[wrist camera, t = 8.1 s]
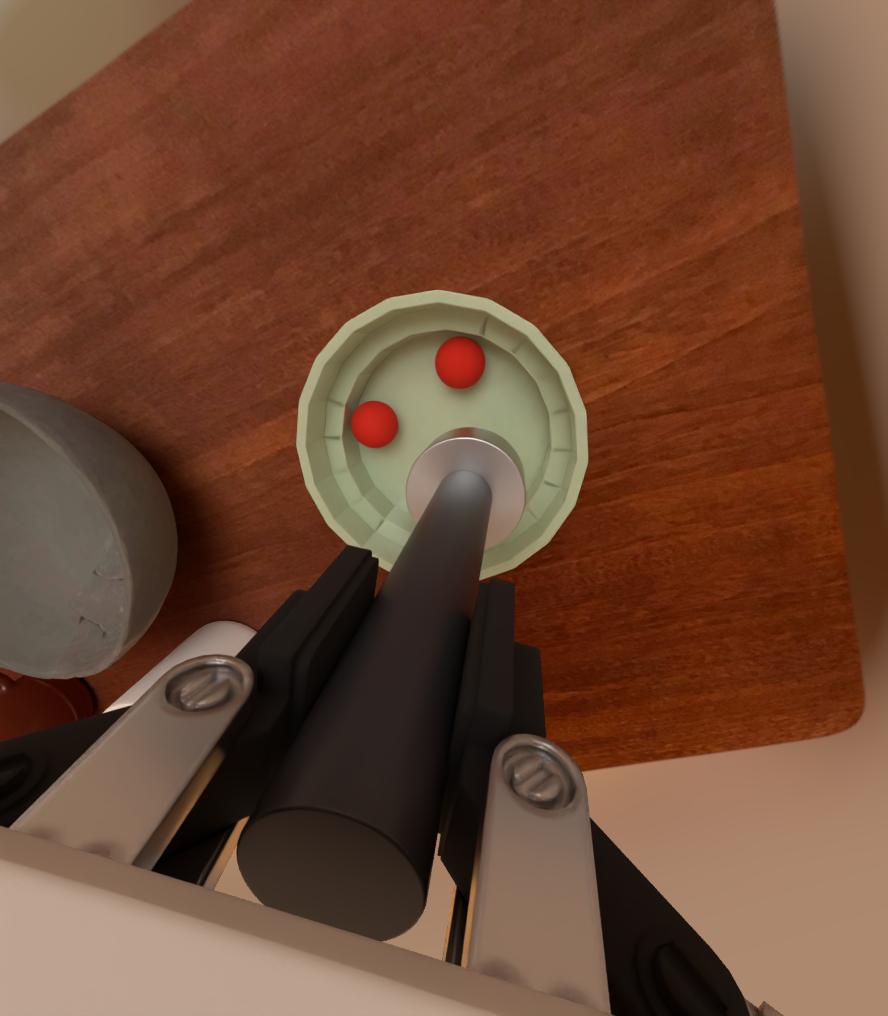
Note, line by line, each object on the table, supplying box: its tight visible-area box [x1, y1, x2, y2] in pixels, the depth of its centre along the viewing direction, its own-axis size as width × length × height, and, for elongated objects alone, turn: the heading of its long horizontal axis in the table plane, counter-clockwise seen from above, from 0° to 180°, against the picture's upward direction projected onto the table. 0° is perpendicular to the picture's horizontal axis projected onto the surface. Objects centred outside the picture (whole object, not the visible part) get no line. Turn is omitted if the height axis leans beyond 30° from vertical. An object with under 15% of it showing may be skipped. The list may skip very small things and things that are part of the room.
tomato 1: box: [351, 401, 398, 448], centre depth 29 cm, size 3×3×3 cm
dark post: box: [237, 427, 526, 942], centre depth 14 cm, size 5×5×18 cm
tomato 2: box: [435, 336, 485, 389], centre depth 27 cm, size 3×3×3 cm
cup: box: [103, 621, 257, 713], centre depth 36 cm, size 8×12×10 cm
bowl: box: [0, 382, 178, 679], centre depth 32 cm, size 20×20×10 cm
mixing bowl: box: [296, 290, 588, 580], centre depth 28 cm, size 16×16×6 cm
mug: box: [0, 672, 94, 742], centre depth 40 cm, size 12×9×10 cm
